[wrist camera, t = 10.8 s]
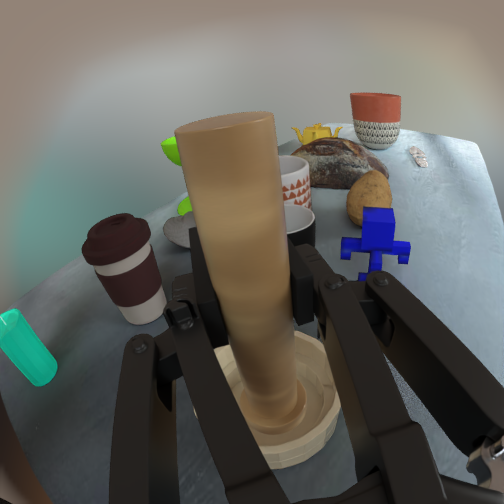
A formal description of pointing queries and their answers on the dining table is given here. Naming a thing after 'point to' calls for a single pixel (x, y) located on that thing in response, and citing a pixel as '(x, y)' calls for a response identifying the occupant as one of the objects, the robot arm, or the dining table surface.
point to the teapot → (315, 133)
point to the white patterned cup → (295, 181)
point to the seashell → (179, 229)
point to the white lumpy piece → (421, 161)
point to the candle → (26, 348)
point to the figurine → (376, 240)
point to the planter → (376, 118)
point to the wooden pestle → (247, 257)
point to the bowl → (317, 412)
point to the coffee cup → (126, 266)
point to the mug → (300, 224)
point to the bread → (338, 162)
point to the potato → (368, 195)
